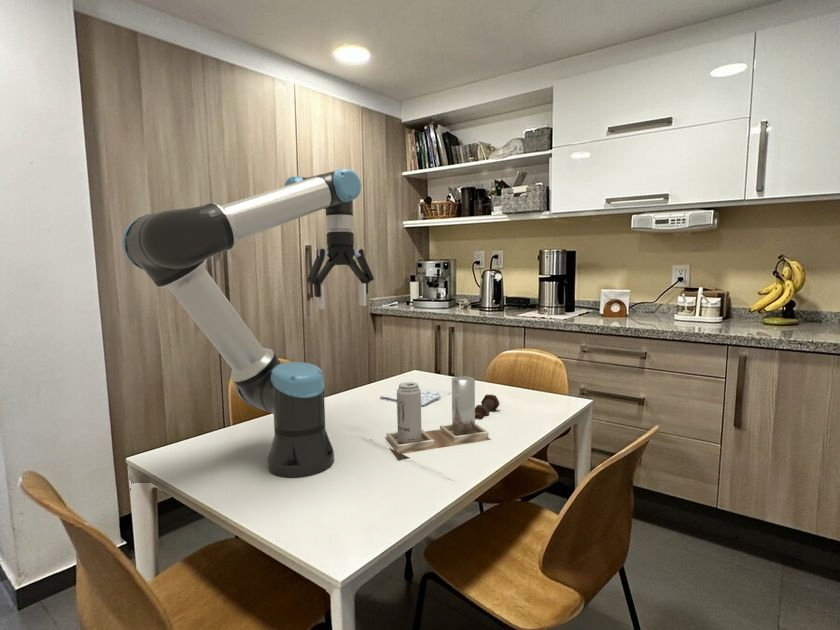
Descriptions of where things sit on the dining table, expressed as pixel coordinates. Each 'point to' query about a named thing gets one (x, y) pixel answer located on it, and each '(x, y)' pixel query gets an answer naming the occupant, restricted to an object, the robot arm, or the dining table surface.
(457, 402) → the cylinder
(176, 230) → the robot arm
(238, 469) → the dining table surface
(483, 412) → the bolt
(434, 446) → the tray
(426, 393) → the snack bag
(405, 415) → the energy drink can
